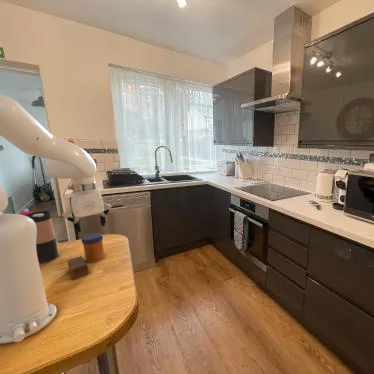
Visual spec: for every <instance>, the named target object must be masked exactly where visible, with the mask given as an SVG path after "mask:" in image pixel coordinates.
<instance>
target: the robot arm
mask: <svg viewBox="0 0 374 374" xmlns="http://www.w3.org/2000/svg"><path fill="white" fill-rule="evenodd" d="M0 137H2V138H3V139H4V140H6V141H7V142H9V143H10V144H12V145H13V146H14V147H16V148H17V149H18V150H20V151H21V152H23V154H26V155H30V156H33V157H38V158H42V159H46V160H47V161H46V163H45V164H44V171H45V173H46V174H47V175H48V176H49V177H51V178H54V179H60V180H61V179H62V180H65V179H66V180H71V185H69V186H67V187H66V188H67V190H68V191H70V190H71V192H70V206H71V207H69V208H68V209H67V210H66V211H64V212H63V213H62V214H61V216H62V217H63V218H64V219H66V220H67V221H69V222H71V223H73V226H74V230H75V231H77V232H78V233H81V232H82V229H81V225H80V222H79V220H80V218H84V217H89V216H95V215H98V214H99V221H100V225H101V226H102V227H105V225H106V224H107V221H106V217H107V215H108V214H109V212H110V210H111V209H112V208H113V206H112V205H111V204H109V203H106V202H104V200H103V197H102V193H101V190H100V189H99V188H97V183H96V176H95V175H96V173H97V165H96V162H95V161H94V159H93V158H92V157H91V156H90V154H89V153H88V152H87V151H86V150H85V149H83V148H82V147H81V146H79V145H77V144H74V143H73V142H70V141H68V140H66V139H64V138H62V137H60V136H57V135H55V134H52V133H50V131H48V130H47V128H45V127H44V126H43V125H42V124H41V123H40V122H39V121H38V120H37V119H36V118H35V117H34V116H33V115H31V113H29V112H28V111H27V110H26V109H25V108H24V107H23V106H22V105H21V104H20V103H19V102H17V101H16V100H15V99H13V98H11V97H9V96H5V95H1V94H0ZM8 205H9V199H8V196H7V194H6V192H5V190H4V188H3V187H2V185H0V344H9V343H10V344H11V343H20V342H21V341H24V339H25V338H27V337H30V336H32V335H34V334H36V333H38V332H39V331H41V330H43V328H45V327H46V326H48V325H49V324H50V323H51V322H52V321H53V320H54V319H55V316H56V315H57V313H58V310H57V306H56V305H55V304H54V303H49V302H48V300H47V295H46V294H47V293H46V291H45V286H44V281H43V275H42V271H41V267H40V263H39V262H38V257H37V251H36V237H37V226H36V224H35V222H34V221H33V220H32V219H31V218H29V217H27V216H24V215H20V214H21V213H20V214H19V213H3V212H5V210H6V209H7V208H8ZM71 213H72V214H73V217H71V216H70V214H71Z"/></svg>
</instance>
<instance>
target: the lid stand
mask: <svg viewBox="0 0 374 374" xmlns="http://www.w3.org/2000/svg"><path fill="white" fill-rule="evenodd" d="M67 265H68V270H69V272H70V274H71V276H72V278H73V280H76V279H79V278H82V277H85V276H87V275H89V273H90V272H89V267H88V264H87V261H86V260H85V259H84V258H83V256H82V255H80V256H77V257H73V258H70V259H68V260H67Z"/></svg>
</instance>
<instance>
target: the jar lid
mask: <svg viewBox="0 0 374 374" xmlns="http://www.w3.org/2000/svg"><path fill="white" fill-rule="evenodd" d="M103 239H104V236H103V233H102V232H91V233H87V234H85V235H83V236H82V237H81V244H82V245H83V244H93V243H97V242H99V241H101V240H102V241H103Z"/></svg>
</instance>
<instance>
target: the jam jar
mask: <svg viewBox="0 0 374 374" xmlns="http://www.w3.org/2000/svg"><path fill="white" fill-rule="evenodd" d="M82 245H83V252H84V257H85V262H86V263H93V262H95V263H96V262H98V261H101V260H103V259H104V258H105V250H104V249H105V248H104V241H103V239H102V240H101V241H99V242H97V243H93V244H83V243H82Z"/></svg>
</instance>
